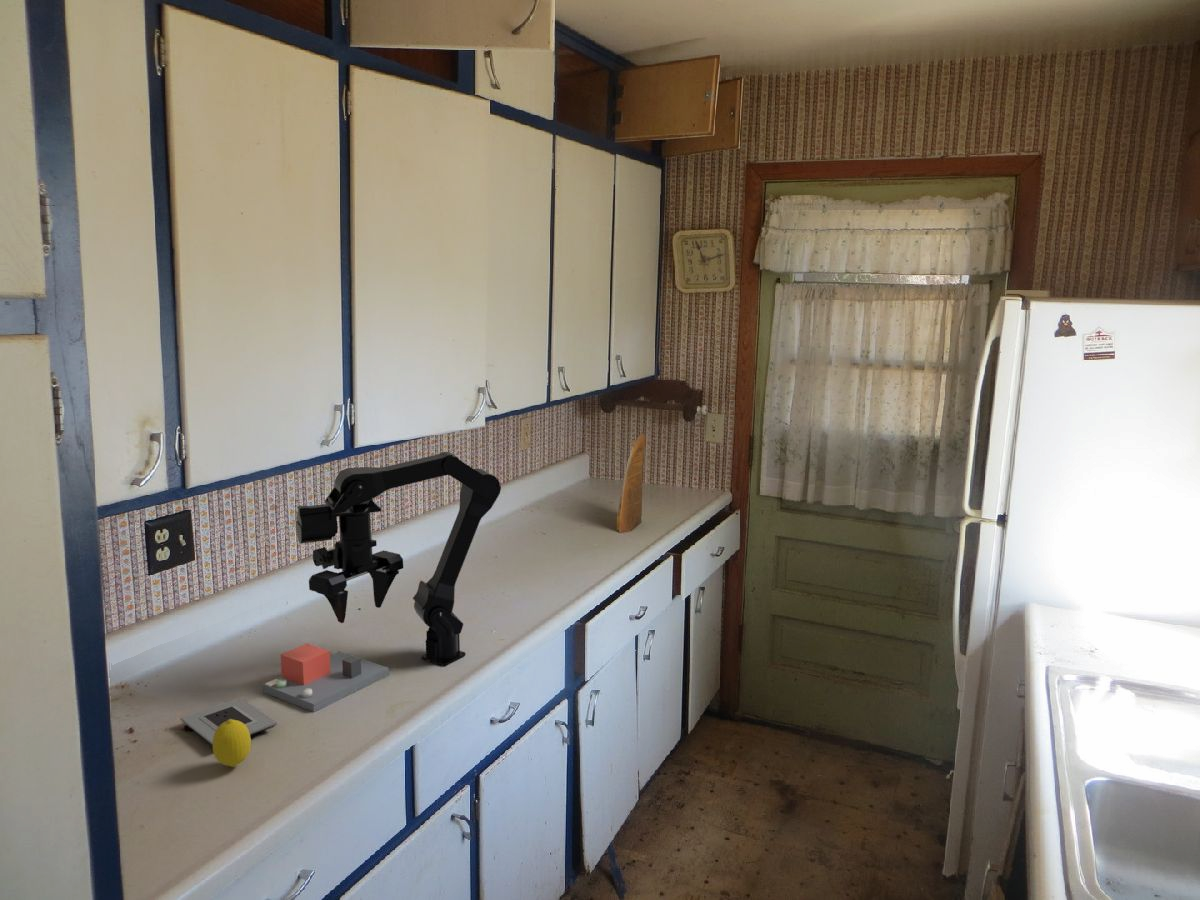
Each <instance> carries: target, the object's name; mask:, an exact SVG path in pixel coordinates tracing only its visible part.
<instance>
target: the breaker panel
mask: <svg viewBox="0 0 1200 900" xmlns="http://www.w3.org/2000/svg"><path fill="white" fill-rule="evenodd" d="M350 656H353V655H351V654H348V653H346V652H343V651H340V650H337V651H336V652H333V653H332V654H330V672H331V673H330V674H328V675H326V676H323V677H321V678H319V679H317V680H315V681H312V682H310V683H308V684H306V685H302V684H299V683H296V682H294V681H291V680H288V679H286V678H283V677H282V675H280V676H278V677H276V678H273V679H271V680H269V681H267V682H265V683H262V692H263V693H265V694H267V695H270V696H273V697H274V698H278V699H280V700H283V701H285V702H288V703H290V704H292V705H295V706H298V707H300V708H303V709H305V710H307V711H310V712H313V713H316V712H317V711H319V710H321V709H323V708H325V707H327V706H329V705H331V704H333V703H336V702H337V701H340V700H341V699H344V698H346V697H348V696H350V695H352V694H355V693H356V692H358V691H360V690H362V689H364V688H366V687H368V686H370V685H372V684H374V683H376V682H378V681H380V680H382V679H385V678H386V677H390V668H389V667H387V666H384V665H382V664H378V663H376V662H373V661H370V660H367V659H363V658H361V674H359V675H357V676H355V677H353V678H350V677H347V676H344V675H343V666H342V660H343V659H346V658H348V657H350Z"/></svg>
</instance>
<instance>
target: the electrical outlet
mask: <svg viewBox="0 0 1200 900" xmlns="http://www.w3.org/2000/svg"><path fill="white" fill-rule="evenodd" d="M229 719H233V720H238V721H240V722H242V723H244V724H245V725H246V727H247V728H248V730H249V733H250V737H252V736H253V735H257V734H259V733H262V732H264V731H267V730H269V729H272V728H274V727H276V725H278V721H276V720H274V719H272V718H271V717H270V716H268V715H267V714H265V713H264V712H262V711H261V710H259V709H258V708H256V707H255V706H253V704H251V703H249V702H247V701H246V700H245V699H243V698H242V697H237V698H235V699H232V700H228V701H227V702H223V703H221V704H217V705H215V706H212V707H209V708H206V709H203V710H199V711H198V712H194V713H191V714H188V715H185V716H182V717H180V721H181V722H182V723H184V724H185V725H186V726H187V727H189V729H192V731H194V732H195V733H196V734H197V735H199V736H200V737H202V739H204V740H205V741H207V742H208V743H209V744H211V745H212V746H213V737H214V734H215V731H216V730H217V728H218V727H219V726H220V725H221V724H222V723H224V722H226V721H228V720H229Z"/></svg>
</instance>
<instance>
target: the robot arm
mask: <svg viewBox="0 0 1200 900" xmlns="http://www.w3.org/2000/svg"><path fill="white" fill-rule="evenodd" d="M444 476H450V477H452V478H454V479H455V480H456V481H458V482H459V483H460V484H461V487H460V492H459V510H458V512H457V515H456V518H455V521H454V523H453V525H452V528H451V530H450V533H449V536H448V537H447V541H446V543H445V546H444V549H443V551H442V553H441V556H440V558H439V561H438V564H437V566H436V569H435V571H434V573H433V575H432V577H431V578H430V579H428V581H427V582H426V581H423V580H420V581H419V583H418V588H417V590H416V593H415V594H414V596H413V597H412V600H413V601H414V603H413V609H414V611H415V613H416V614H417V616H418V617H419V618H420V619H421V620H422V622H423V623H424V624H425V625H426V626H427V627H428V629H427V630H426V634H425V635H426V639H425V654H424V653H423V654H422V655H421V657H420V658H421V659H422V660H425V661H428V662H431V663H434V664H438V665H440V666H444V667H445V666H448V665H449V663H450V664H451V663H454V662H455V661H457V660H459V659H461V658H463V657H465V656H466V652H465V651H462V650H461V649H460V646H461V645H460V642H461V641H460V634H461V633H462V630H463V628H464V622H462V620H460V619H459V617H458V616H457V615H456V614H455V613H454V612H453V610H454V605H455V592H456V591H455V590H456V589H455V587H456V583H457V581H458V579H459V575H460V573H461V571H462V568H463V565H464V563H465V560H466V558H467V556H468V553H469V550H470V547H471V545H472V543H473V540H474V537H475V534H476V532H477V529H478V527H479V525H480V523H481V521H482V518H484V517H485V515H487V514H488V512H489V511H490V510H491V509H492V508H493V507H494V505H495V503H496V501H497V499H498V497H499V496H500V493H501V490H502V485H501V482H500V480H499V479H498V478H497V477H496V476H495V475H493V474H491V473H489V472H488V471H486V470H485V469H483V468H473V467H471V466H470V465H468V464H466V463H465V462H464V461H462V460H461V459H460V458H459V457H458V456H457V455H455V454H453V453H451V451H450V452H449V451H442V452H440V453H438V454H434V455H429V456H426V457H421V458H417V459H412V460H407V461H403V462H400V463H396V464H391V465H386V466H383V467H382V466H379V467H373V466H372V467H371V466H359V467H358V466H357V467H346V468H344V469H342V470H340V471H339V472H338V474H337V475H336V476H335V480H334V487H333V488H332V489H331V491H330V492H329V494H328V495H327V496H326V499H325V500H324V503H322V504H315V505H298V506H297V515H296V521H295V529H296V535H297V540H298V543H299V544H300V545H302V544H308V543H310V544H311V543H316V542H325V541H331V540H333V538H334V537H335V538H336V534H338V531H339V540H337V541H335V543H334V548H331V549H329V550H327V548H326V547H324V546H323V547H321V548H320V547H319V548H317V549H314V550H312V560H313V564H314V566H316V567H320V566H321V567H322V570H323V571H319V572H317V573H314V574H312V575H311V576H310V577H309V579H308V588H309V589H308V590H309V591H312V592H315V593H317V594H321V595H323V596H325V598H326V600H327V601H328V602H329V605H330V606H331V609H332V611H333V613H334V616H335V618H336V619H337V621H338V622H339V623H341V624H344V623H345V619H346V615H347V614H346V613H347V606H348V595H349V591H348V590H347V589H346V588H347V586H348V584H347V583H348V582H347V581H350V580H353V579H356V578H358V577H360V576H364V575H367V574H369V575H370V577H371V578H372V586H373V587H372V589H373V600H374V606H375V608H376V609H377V608H379V609H381V607H382V604H384V601H385V599H386V596H387V594H388V591H389V589H390V587H391V586H392V584H393V582H394V580H395V578H396V577H397V575H399V574H400V570H403V569H404V558H403V557H402V555H400V553H397V552H392V551H388V550H384V549H383V550H380V551H377V552H375V553H373V547H377V540H376V539H373V538H372V521H371V520H372V519H371V513H372V514H373V513H379V512H381V511H382V507H380V505H378V504H377V503H375V501H374V500H373V499H375V498H377V497H378V496H381V495H382V494H383V493H384V492H387V491H389V490H392V489H395V488H399V487H403V486H407V485H412V484H415V483H419V482H420V483H421V482H424V481H428V480H432V479H436V478H440V477H444ZM330 567H333V569H336V570H341V571H339V572H334V571H332V570H328V568H330ZM447 664H448V665H447Z"/></svg>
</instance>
